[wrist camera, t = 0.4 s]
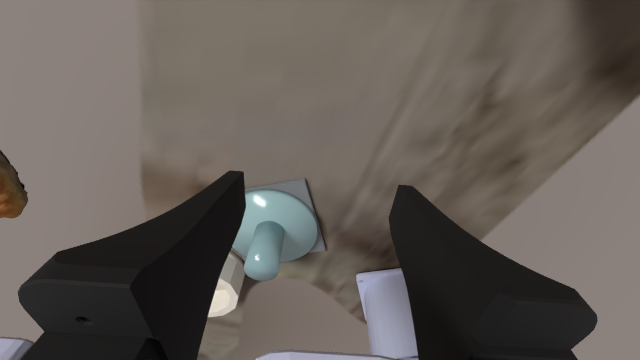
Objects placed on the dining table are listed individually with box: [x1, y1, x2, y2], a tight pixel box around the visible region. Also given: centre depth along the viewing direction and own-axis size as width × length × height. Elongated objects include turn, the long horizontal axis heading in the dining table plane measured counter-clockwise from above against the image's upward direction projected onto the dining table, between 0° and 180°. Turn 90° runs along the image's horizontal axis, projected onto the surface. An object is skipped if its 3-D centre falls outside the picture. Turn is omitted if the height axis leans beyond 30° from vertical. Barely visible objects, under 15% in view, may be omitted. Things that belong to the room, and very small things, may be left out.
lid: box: [232, 189, 317, 281], centre depth 24 cm, size 9×9×5 cm
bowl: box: [208, 251, 245, 317], centre depth 29 cm, size 8×8×4 cm
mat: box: [240, 179, 326, 261], centre depth 27 cm, size 9×9×1 cm
